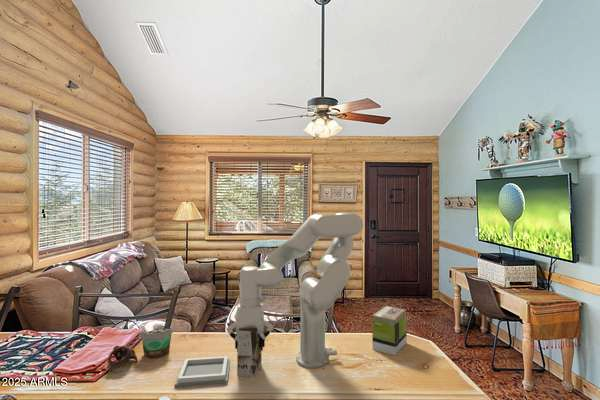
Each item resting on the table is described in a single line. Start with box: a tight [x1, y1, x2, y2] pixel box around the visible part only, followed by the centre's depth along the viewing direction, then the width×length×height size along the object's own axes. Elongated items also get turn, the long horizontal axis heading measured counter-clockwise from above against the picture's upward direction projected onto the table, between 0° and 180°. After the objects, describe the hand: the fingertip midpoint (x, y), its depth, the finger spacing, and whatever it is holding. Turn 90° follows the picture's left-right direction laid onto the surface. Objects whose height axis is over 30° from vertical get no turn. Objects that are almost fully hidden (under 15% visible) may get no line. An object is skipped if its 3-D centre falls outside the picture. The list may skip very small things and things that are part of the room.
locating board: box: [173, 355, 231, 389], centre depth 114 cm, size 17×15×2 cm
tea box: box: [371, 305, 408, 356], centre depth 137 cm, size 15×10×15 cm, turn 144°
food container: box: [139, 326, 174, 360], centre depth 127 cm, size 12×6×10 cm, turn 117°
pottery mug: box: [107, 345, 138, 372], centre depth 120 cm, size 12×10×8 cm
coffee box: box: [236, 328, 263, 378], centre depth 117 cm, size 9×6×16 cm
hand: (249, 349), depth 117 cm, fingers closed on coffee box, 8 cm apart
